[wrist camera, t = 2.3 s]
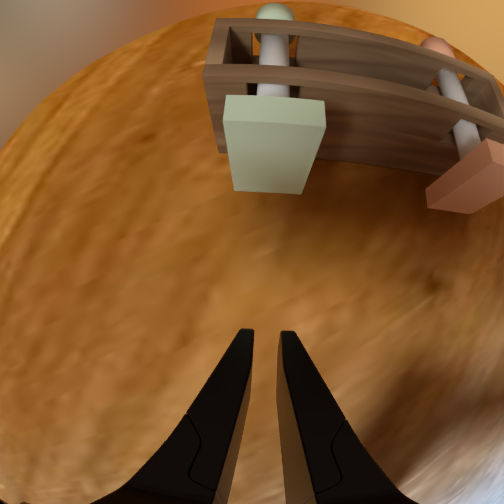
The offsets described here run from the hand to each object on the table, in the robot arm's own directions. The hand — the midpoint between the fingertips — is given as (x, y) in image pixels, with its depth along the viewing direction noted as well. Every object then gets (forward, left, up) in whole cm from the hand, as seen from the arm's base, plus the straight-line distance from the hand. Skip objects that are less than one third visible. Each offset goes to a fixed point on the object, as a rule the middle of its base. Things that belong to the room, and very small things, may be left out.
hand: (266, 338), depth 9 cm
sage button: (+11, -11, -10) cm, 18 cm away
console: (+6, -16, -13) cm, 22 cm away
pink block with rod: (+1, -21, -10) cm, 23 cm away
